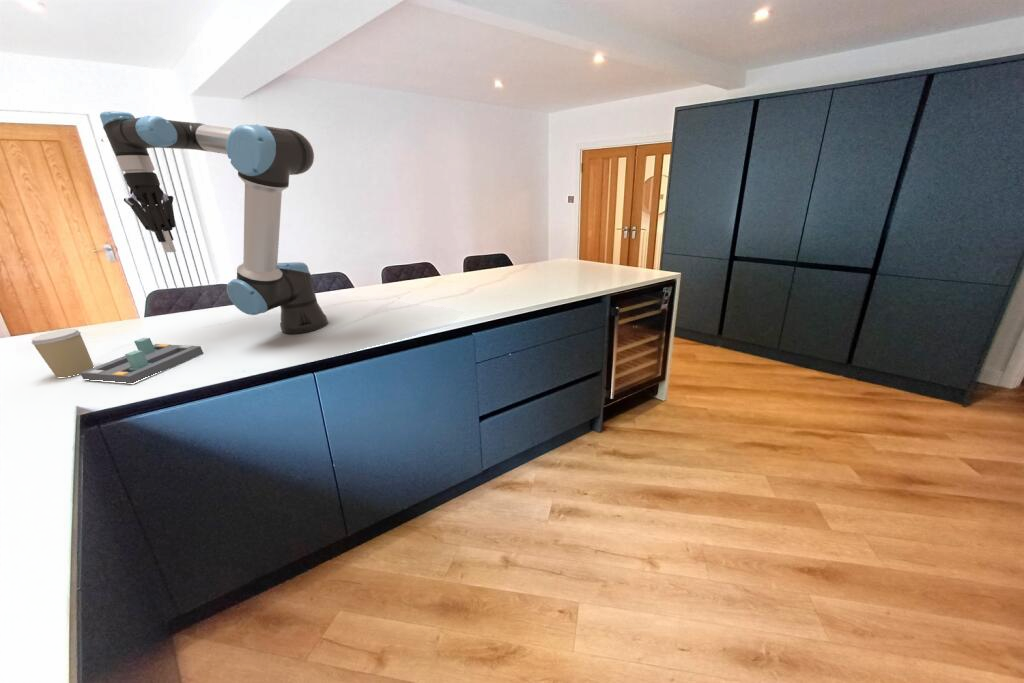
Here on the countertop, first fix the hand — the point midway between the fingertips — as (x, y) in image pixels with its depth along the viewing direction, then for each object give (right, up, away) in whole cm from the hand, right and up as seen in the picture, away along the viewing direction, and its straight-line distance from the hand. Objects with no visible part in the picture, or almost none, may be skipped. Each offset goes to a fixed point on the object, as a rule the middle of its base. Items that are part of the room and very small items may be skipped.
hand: (170, 251), depth 124 cm
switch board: (+2, -36, -10) cm, 38 cm away
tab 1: (-1, -33, -6) cm, 34 cm away
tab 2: (+6, -37, -16) cm, 41 cm away
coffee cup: (-17, -38, -11) cm, 43 cm away
